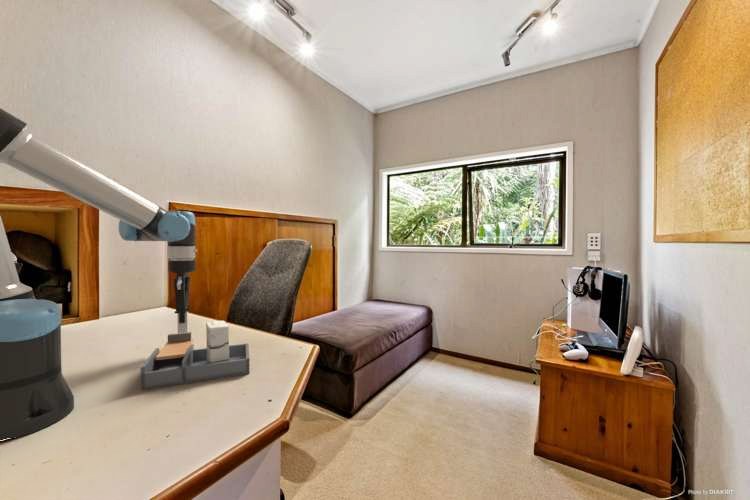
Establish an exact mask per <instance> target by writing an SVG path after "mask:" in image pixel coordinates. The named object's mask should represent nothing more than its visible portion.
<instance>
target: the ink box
mask: <svg viewBox="0 0 750 500" xmlns="http://www.w3.org/2000/svg"><path fill="white" fill-rule="evenodd" d="M205 327H206V335H205V336H206V348H207V363H208V364H210V363H218V362H225V361H229V346H230V338H229V337H230V334H229V333H230V330H229V328H230V327H229V325H228V324H227V322H226V321H225V320H214V321H213V320H212V321H207V322H206V323H205Z"/></svg>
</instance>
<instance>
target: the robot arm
mask: <svg viewBox="0 0 750 500" xmlns="http://www.w3.org/2000/svg"><path fill="white" fill-rule="evenodd" d="M1 163H2V164H5V165H7V166H10V167H11V168H14V169H16V170H18V171H20V172H22V173H24V174H26V175H28V176H30V177H32V178H33V179H36V180H39V182H42V183H44V184H46V185H48V186H50V187H52V188H55V189H56V190H58V191H61V192H63V193H64V194H67V195H69V196H71V197H73V198H75V199H77V200H79V201H81V202H83V203H85V204H88V205H89V206H91V207H93V208H95V209H97V210H100V211H101V212H103V213H106V214H107V215H110V216H111V217H113V218H116V219H117V220H119V221H118V233H119V236H120V238H121V239H122V240H123V241H127V242H136V243H137V242H167V259H169V260H168V261H167V270H168V273H173V274H176V275H175V277H174V279H173V288H174V296H175V297H174V298H175V300H174V301H175V311H174V314H177V334H178V333H188V332H189V312H191V310H192V309H191V308H190V283H191V277H190V276H189V273H191V272H192V273H193V272H195V271H196V270H197V268H196V267H197V266H196V265H197V263H196V261H197V260H196V259H195V258H196V253H197V252H198V248H196V228H197V225H196V219H195V218H196V216H195V214H194V212H191V211H187V210H186V211H185V210H184V211H183V210H170V211H169V210H166V209H165V208H163V207H161V206H159V205H157V204H156V203H153V202H152V201H150V200H149V199H147V198H145V197H143V196H142V195H140V194H138V193H136V192H134V191H133V190H131V189H130V188H127V187H126V186H125V185H123V184H121V183H120V182H118V181H115V179H112V178H110V177H109V176H107V175H105V174H103V173H102V172H100V171H98V170H97V169H96V168H93V167H92V166H90V165H89V164H86V163H85V162H83V161H81V160H80V159H78V158H76V157H74V156H72V155H71V154H69V153H68V152H66V151H64V150H62V149H60V148H59V147H57V146H56V145H54V144H52V143H50V142H48V141H47V140H45V139H43V138H41V137H40V136H38V135H36V134H35V133H33V131H32V130H31V127H30V125H29V124H28V123H27V122H24V121H23V120H21V119H20V118H18V117H16V116H15V115H12V114H11V113H9V112H8V111H6V110H4V109H3V108H0V164H1ZM16 267H17V266H16V264H15V261H14V258H13V254H12V250H11V247H10V244H9V240H8V236H7V234H6V230H5V226H4V223H3V220H2V217H1V215H0V440H3V439H7V438H14V439H16V438H15V437H17V438H21V437H23V436H26V435H30V434H33V433H35V432H38V431H40V430H43V429H45V428H47V427H49V426H51V425H53V424H56V423H57V422H59V421H61V420H63V419H64V418H65V417H67V416H68V415H70V414H71V413H72V411H74V408H75V396H74V394H73V392H72V390H71V388H70V387H69V385H68V383H67V381H66V379H65V377H64V375H63V371H62V326H61V323H62V322H63V321H62V319H63V318H62V317H63V316H62V314H61V309H60V306H59V305H58V304H57V302H54V301H52V300H47V299H37V298H36V297H35V294H34V291H33V288H32V287H31V286H29V285H25V284H24V283H22V282H21V281H20V278H19V274H18V271H17V268H16ZM20 436H21V437H20Z"/></svg>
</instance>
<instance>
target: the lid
mask: <svg viewBox="0 0 750 500" xmlns="http://www.w3.org/2000/svg"><path fill="white" fill-rule="evenodd" d="M192 344H194V339H192V331H190V332H189V331H188V332H186V333H178V332H177V333H170V334H167V341H166V343H165V344H164V346H163V347H162V348H161V349H160V350H159V353H158V355H157V356H156V357H155V359H156V360H163V359H171V358H179V357H185V355H186V353H187V351H188V349H189V347H190V345H192Z"/></svg>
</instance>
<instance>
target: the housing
mask: <svg viewBox="0 0 750 500" xmlns="http://www.w3.org/2000/svg"><path fill="white" fill-rule="evenodd" d="M159 352H160V348H159V347H158V348H155V349H154V350H153V351H152V353H151V354H150V356H148V358H147V359H146V360H145V361H144V363H143V364H142V365H141V367H140V391H147V390H153V389H161V388H167V387H172V386H173V387H174V386H179V385H186V384H192V383H193V384H194V383H200V382H206V381H213V380H218V379H220V380H221V379H224V378H232V377H238V376H245V375H249V374H250V349H249V343H247V342H246V343H241V344H229V361H225V362H218V363H210V364H208V363H207V347H206V348H198V349H197V348H196V349H195V345H194V343H193V344H192V345H190V347H189V349H188V351H187V353H186V355H185V357H179V358H171V359H163V360H156V359H155V357H156V356H157V355H158V353H159Z"/></svg>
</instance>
